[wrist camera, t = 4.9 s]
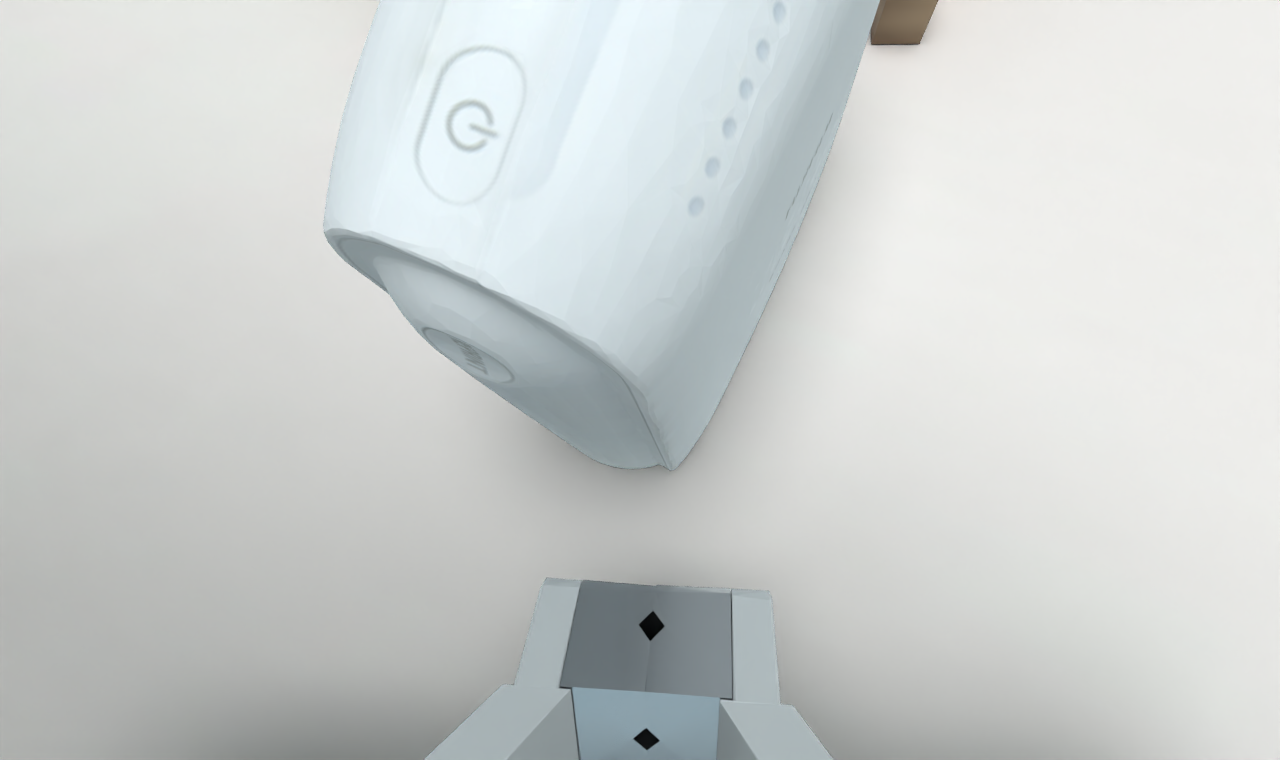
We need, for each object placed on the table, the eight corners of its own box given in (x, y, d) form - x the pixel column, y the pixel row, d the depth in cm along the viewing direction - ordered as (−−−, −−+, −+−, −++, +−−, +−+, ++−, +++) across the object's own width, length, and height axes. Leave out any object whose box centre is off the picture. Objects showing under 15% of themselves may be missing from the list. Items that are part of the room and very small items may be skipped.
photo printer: (681, 507, 16) (628, 396, 4) (516, 429, 17) (72, 147, 5) (850, 130, 18) (1150, -699, 6) (694, 74, 19) (683, -764, 7)
